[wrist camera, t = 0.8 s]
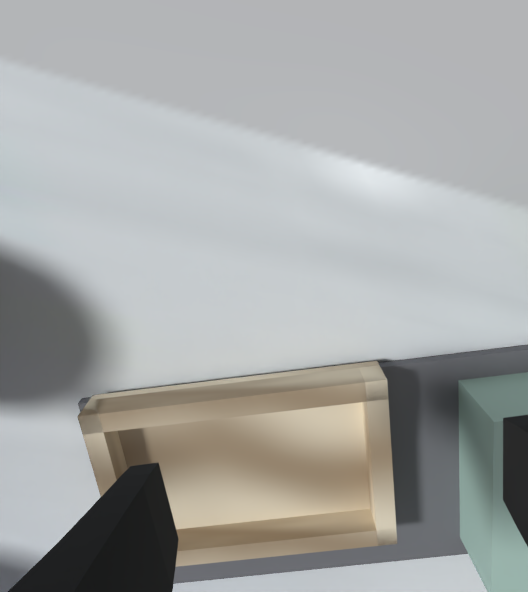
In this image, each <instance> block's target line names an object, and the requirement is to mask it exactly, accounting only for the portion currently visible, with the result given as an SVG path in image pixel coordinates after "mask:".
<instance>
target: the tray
mask: <svg viewBox="0 0 528 592" xmlns="http://www.w3.org/2000/svg"><path fill="white" fill-rule="evenodd" d="M78 420H79V423H80V427H81V430H82V434H83V437H84V440H85V444H86V447H87V451H88V454H89V457H90V461H91V464H92V468H93V471H94V475H95V478H96V481H97V485H98V488H99V492H100V495H101V497H102V496H103V495H104V493H105V492H106V491H107V490H108V489H109V488H110V487H111V486H112V485H113V484H114V483H115V482H116V481H117V479H118V478H119V477H120V476H121V475H122V474H123V473H124V472H125V471H126V470H127V469H128V468H129V467H130V466H135V465H143V464H151V463H158V462H159V466H160V470H161V474H162V477H163V481H164V485H165V489H166V493H167V497H168V500H169V504H170V508H171V512H172V516H173V519H174V523H175V527H176V531H177V535H178V539H179V540H178V549H177V558H176V567H178V566H188V565H197V564H207V563H217V562H226V561H236V560H246V559H255V558H265V557H275V556H284V555H294V554H304V553H313V552H323V551H333V550H343V549H352V548H362V547H372V546H381V545H391V544H397V531H396V515H395V498H394V482H393V466H392V449H391V433H390V417H389V400H388V384H387V378H386V377H385V375H384V373H383V371H382V369H381V367H380V365H379V364H378V362H377V361H371V362H363V363H355V364H346V365H338V366H330V367H322V368H313V369H305V370H297V371H289V372H280V373H272V374H264V375H255V376H247V377H239V378H231V379H222V380H214V381H206V382H197V383H189V384H181V385H173V386H164V387H156V388H148V389H139V390H131V391H123V392H115V393H106V394H98V395H93V396H92V397H91V399H90V400H89V401H88V403H87V404H86V405H85V407H84V408H83V410H82V411H81V412H80V414H79V415H78Z"/></svg>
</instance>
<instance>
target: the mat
mask: <svg viewBox="0 0 528 592" xmlns="http://www.w3.org/2000/svg"><path fill="white" fill-rule="evenodd" d="M378 364H379V365H380V367H381V369H382V371H383V373H384V375H385V377H386V378H387V384H388V400H389V417H390V433H391V449H392V466H393V482H394V498H395V515H396V531H397V544H391V545H381V546H372V547H362V548H352V549H343V550H333V551H323V552H313V553H304V554H294V555H284V556H275V557H265V558H255V559H246V560H236V561H226V562H217V563H207V564H197V565H188V566H178V567H175V574H174V581H173V584H174V583H184V582H194V581H204V580H214V579H224V578H233V577H243V576H253V575H263V574H273V573H282V572H292V571H302V570H312V569H322V568H332V567H341V566H351V565H361V564H371V563H381V562H391V561H400V560H410V559H420V558H430V557H440V556H450V555H459V554H468V552H467V550H466V548H465V546H464V544H463V542H462V540H461V538H460V489H459V389H458V380H466V379H474V378H483V377H491V376H500V375H508V374H517V373H525V372H528V345H522V346H514V347H506V348H497V349H489V350H481V351H473V352H464V353H456V354H448V355H439V356H431V357H423V358H414V359H406V360H398V361H390V362H381V363H378ZM90 399H91V398H82V399H81V400H80V402H79V403H78V405H79V408H80V412H81V411H82V410H83V408H84V407H85V405H86V404H87V403H88V401H89V400H90Z"/></svg>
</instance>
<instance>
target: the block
mask: <svg viewBox="0 0 528 592" xmlns="http://www.w3.org/2000/svg"><path fill="white" fill-rule="evenodd" d="M458 389H459V489H460V538H461V540H462V542H463V544H464V546H465V548H466V550H467V552H468V554H469V556H470V558H471V560H472V562H473V564H474V566H475V568H476V570H477V572H478V574H479V576H480V578H481V580H482V582H483V584H484V586H485V588H486V590H487V591H488V592H528V546H527V545H526V543H525V541H524V539H523V537H522V535H521V534H520V532H519V530H518V528H517V526H516V524H515V522H514V520H513V518H512V517H511V515H510V513H509V511H508V509H507V507H506V505H505V503H504V501H503V418H506V417H514V416H521V415H528V372H525V373H517V374H508V375H500V376H491V377H483V378H474V379H466V380H458Z"/></svg>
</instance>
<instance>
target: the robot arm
mask: <svg viewBox="0 0 528 592" xmlns="http://www.w3.org/2000/svg"><path fill="white" fill-rule="evenodd" d="M503 501H504V503H505V505H506V507H507V509H508V511H509V513H510V515H511V517H512V518H513V520H514V522H515V524H516V526H517V528H518V530H519V532H520V534H521V535H522V537H523V539H524V541H525V543H526V545H527V546H528V415H521V416H514V417H506V418H503ZM178 540H179V539H178V535H177V531H176V527H175V523H174V519H173V516H172V512H171V508H170V504H169V500H168V497H167V493H166V489H165V485H164V481H163V477H162V474H161V470H160V466H159V462H158V463H151V464H143V465H135V466H130V467H129V468H128V469H127V470H126V471H125V472H124V473H123V474H122V475H121V476H120V477H119V478H118V479H117V481H116V482H115V483H114V484H113V485H112V486H111V487H110V488H109V489H108V490H107V491H106V492H105V493H104V495H103V496H102V497H101V498H100V499H99V500H98V501H97V502H96V503H95V504H94V505H93V506H92V507H91V509H90V510H89V511H88V512H87V513H86V514H85V515H84V516H83V517H82V518H81V519H80V520H79V521H78V522H77V523H76V524H75V525H74V527H73V528H72V529H71V530H70V531H69V532H68V533H67V534H66V535H65V536H64V537H63V538H62V539H61V540H60V541H59V542H58V543H57V544H56V545H55V546H54V547H53V548H52V549H51V550H50V551H49V552H48V553H47V554H46V555H45V556H44V557H43V558H42V559H41V560H40V561H39V562H38V563H37V564H36V565H35V566H34V567H33V568H32V569H31V570H30V571H29V572H28V573H27V574H26V575H25V576H24V577H23V578H22V579H21V580H20V581H19V582H18V583H17V584H15V585H14V586H13V587H12V588H11V589H10V590H9V591H8V592H172V589H173V581H174V574H175V567H176V558H177V549H178Z"/></svg>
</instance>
